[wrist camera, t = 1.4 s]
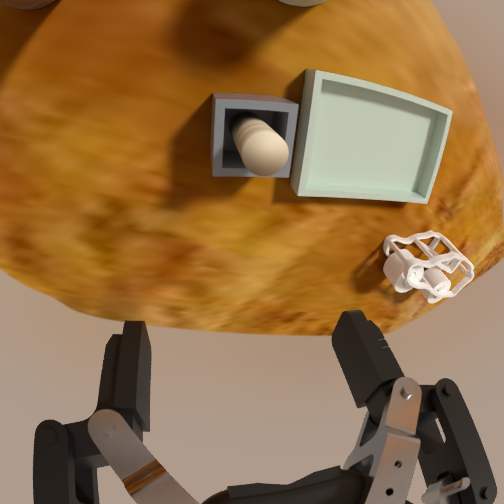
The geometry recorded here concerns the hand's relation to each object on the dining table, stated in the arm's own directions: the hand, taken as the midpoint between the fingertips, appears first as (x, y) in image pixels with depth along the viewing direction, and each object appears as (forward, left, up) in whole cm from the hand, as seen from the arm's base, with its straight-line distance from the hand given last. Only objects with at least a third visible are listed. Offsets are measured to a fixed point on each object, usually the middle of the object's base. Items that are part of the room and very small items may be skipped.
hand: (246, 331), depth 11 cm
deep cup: (-3, +3, -24) cm, 24 cm away
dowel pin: (-3, +3, -23) cm, 23 cm away
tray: (-3, +19, -24) cm, 31 cm away
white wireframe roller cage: (+15, +36, -24) cm, 46 cm away
